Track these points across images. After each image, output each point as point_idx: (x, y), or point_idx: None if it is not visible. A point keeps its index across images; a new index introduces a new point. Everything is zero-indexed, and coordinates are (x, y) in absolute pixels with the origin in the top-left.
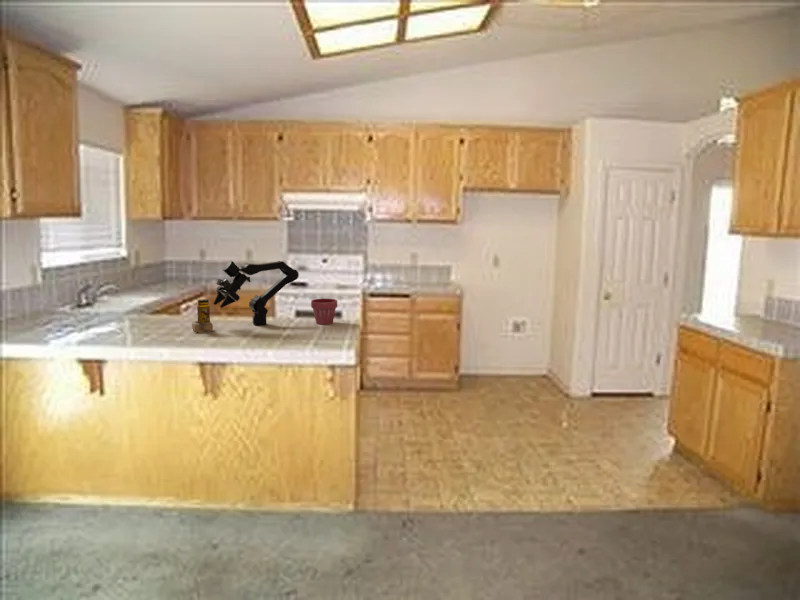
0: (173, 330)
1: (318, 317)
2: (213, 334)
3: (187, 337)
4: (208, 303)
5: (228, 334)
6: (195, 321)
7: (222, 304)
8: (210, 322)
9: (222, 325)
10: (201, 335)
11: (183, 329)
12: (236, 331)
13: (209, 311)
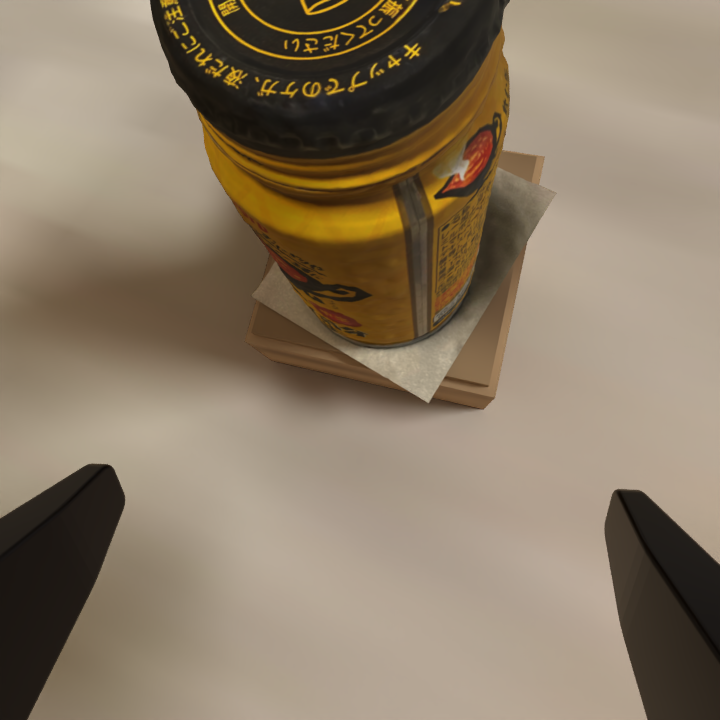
0: (592, 24)
1: None
2: (121, 306)
3: (156, 53)
4: (237, 165)
5: (15, 441)
6: (524, 188)
7: (12, 527)
8: (340, 345)
9: (594, 640)
10: (156, 187)
11: (591, 125)
12: (100, 601)
13: (291, 273)
